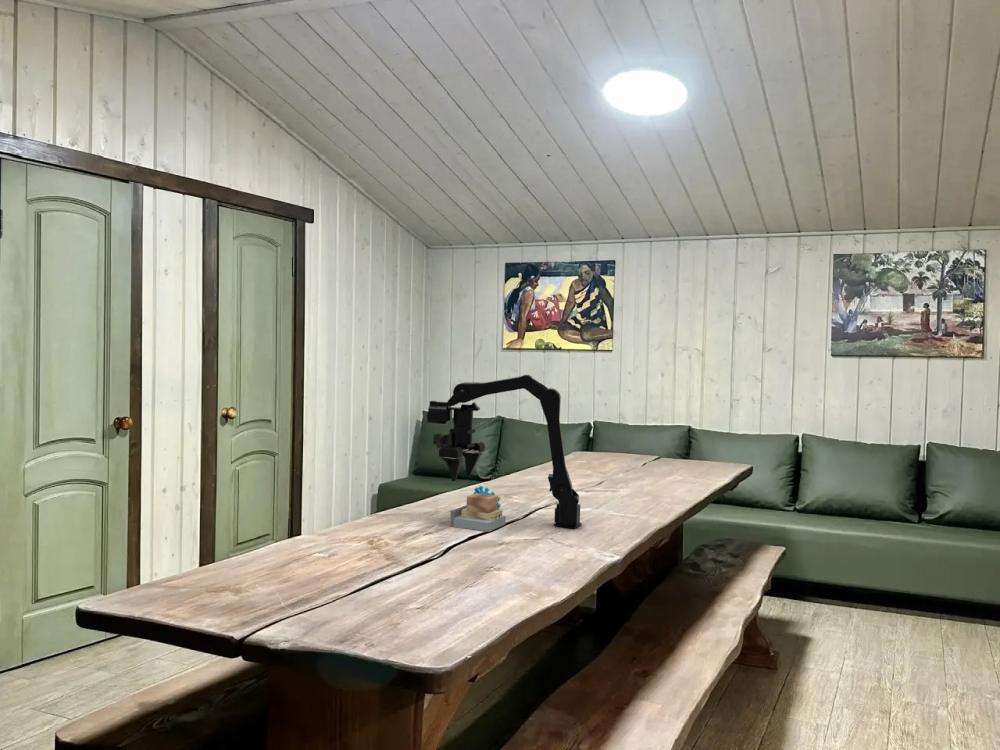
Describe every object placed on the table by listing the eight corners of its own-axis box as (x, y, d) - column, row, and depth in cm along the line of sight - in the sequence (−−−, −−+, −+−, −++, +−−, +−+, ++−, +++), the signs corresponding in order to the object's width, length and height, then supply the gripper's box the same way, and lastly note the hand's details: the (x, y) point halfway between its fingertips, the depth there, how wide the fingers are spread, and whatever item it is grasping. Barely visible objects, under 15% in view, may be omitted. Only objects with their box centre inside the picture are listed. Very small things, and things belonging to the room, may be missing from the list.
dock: (505, 524, 230) (505, 509, 229) (488, 531, 220) (489, 516, 219) (468, 519, 235) (468, 504, 234) (450, 526, 225) (450, 510, 224)
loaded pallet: (502, 517, 227) (502, 496, 227) (493, 521, 222) (493, 499, 221) (470, 513, 231) (471, 492, 231) (461, 516, 226) (462, 495, 226)
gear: (484, 511, 239) (470, 484, 244) (472, 522, 242) (459, 495, 247) (509, 511, 247) (495, 485, 252) (497, 522, 249) (484, 496, 255)
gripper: (453, 421, 245) (451, 471, 245) (422, 425, 228) (421, 480, 228) (486, 423, 240) (484, 475, 241) (457, 429, 223) (455, 484, 224)
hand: (461, 478), depth 233 cm, fingers open, 9 cm apart
